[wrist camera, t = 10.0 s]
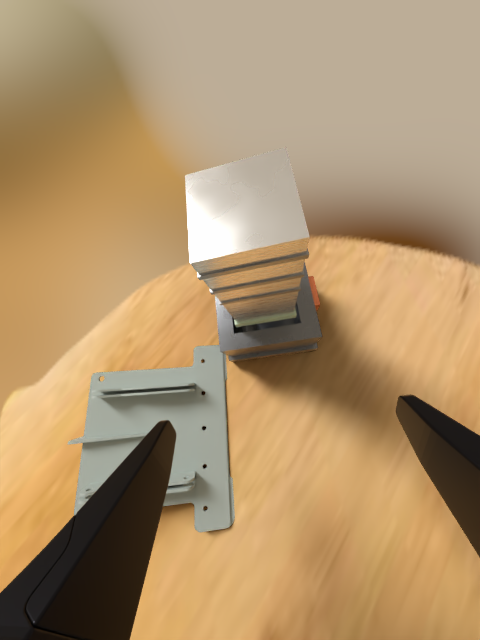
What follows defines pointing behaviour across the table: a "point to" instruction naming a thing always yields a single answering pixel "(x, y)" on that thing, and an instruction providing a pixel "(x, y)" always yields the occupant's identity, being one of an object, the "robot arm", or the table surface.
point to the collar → (273, 329)
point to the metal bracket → (187, 419)
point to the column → (249, 236)
